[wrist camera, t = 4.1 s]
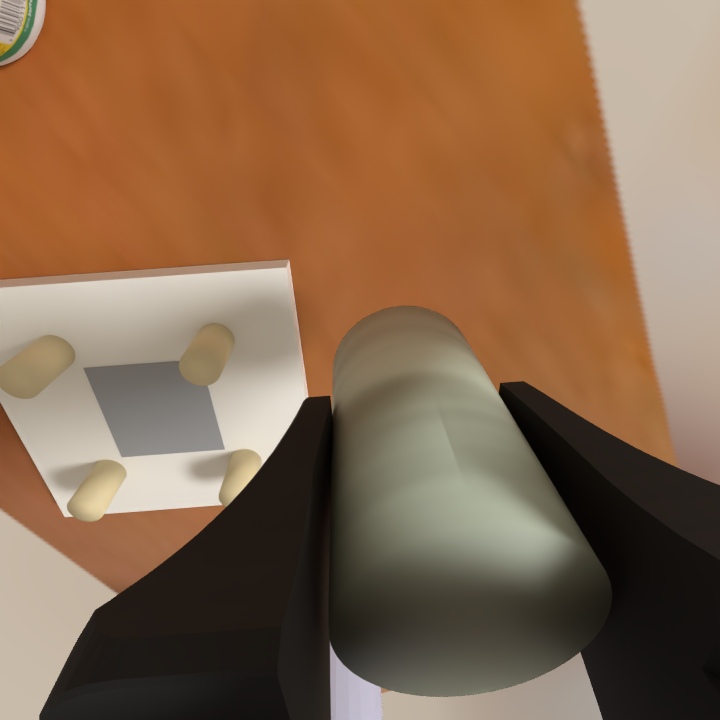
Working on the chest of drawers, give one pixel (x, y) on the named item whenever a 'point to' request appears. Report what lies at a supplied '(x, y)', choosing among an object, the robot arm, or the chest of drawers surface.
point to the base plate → (151, 381)
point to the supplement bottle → (19, 27)
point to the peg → (445, 522)
